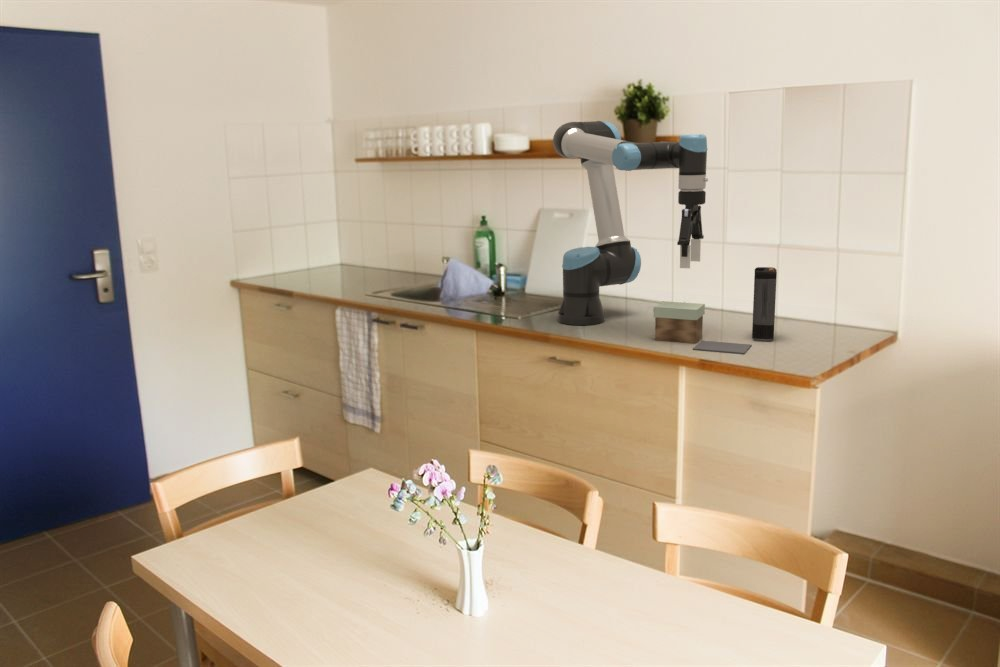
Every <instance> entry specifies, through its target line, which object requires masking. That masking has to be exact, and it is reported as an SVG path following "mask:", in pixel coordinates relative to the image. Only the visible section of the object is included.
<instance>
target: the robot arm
mask: <svg viewBox="0 0 1000 667" xmlns="http://www.w3.org/2000/svg"><path fill="white" fill-rule="evenodd" d="M552 145H553V149H554V151H555V152H556V154H558V155H559V156H561V157H562V158H565V159H571V160H575V159H576V160H577V159H580V163H581V164H580V165H581V167H582V168H584V169H585V170H586V173H587V177H588V178H587V179H588V184H589V185H588V186H589V191H590V196H591V202H592V203H591V204H592V208H593V209H592V210H593V215H594V221H595V227H596V232H597V239H598V241H597V243H596V244H595V246H585V247H583V246H581V247H576V248H572V249H569V250H567V251H566V252H565V253H564V254H563V256H562V265H561V267H562V293H563V294H562V300H561V304H560V306H559V310H558V313H557V321H558V322H559V323H561V324H564V325H569V326H570V325H571V326H590V325H591V326H592V325H597V324H602V323H604V322H605V320H606V317H605V314H606V313H605V309H604V307H603V304H602V301H601V298H600V287H605V286H614V285H624V284H627V283H632V282H633V281H635V279H636V278H637V277H638V275H639V273H640V272H641V267H642V257H641V254H640V252H639V251H638V249H637V248H635V247H633V246H632V244H631V240H630V239H629V238H627V237H626V236H625V232H624V224H623V219H622V213H621V208H620V201H619V195H618V190H617V182H616V177H615V170H614V167H615V168H616V169H617V170H618V171H626V172H632V171H639V170H640V171H641V170H660V169H661V170H662V169H678V171H679V172H678V187H677V188H678V190H679V192H678V197H677V198H678V199H677V200H678V201H677V202H678V204H679V205H682V206H683V205H684V206H685V207H684V208H682V209H681V220H680V228H679V236H678V241H677V243H676V244H677V246H679V269H691V262H701V250H702V249H701V246H702V245H701V243H702V241H701V240H703V239H704V237H705V236H704V234H703V225H702V213H701V212H702V206H701V205H705V204H706V194H707V193H706V191H705V189H706V186H707V184H706V183H707V182H708V181H709V179H708V178H707V161H708V160H707V157H708V141H707V136H706V135H705V134H704V133H703V134H701V133H699V134H682V135H680V137H679V141H658V142H653V141H652V142H632V141H627V140H622V138H621V134H620V131H619V130H618V128H617V127H616V126H615V124H613V123H612V122H610V121H601V120H597V121H569V122H565V123H564V124H561V125H560V126H559V127H558V128H557V129H556V130H555V132H554V134H553V136H552Z"/></svg>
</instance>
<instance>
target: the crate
mask: <svg viewBox="0 0 1000 667" xmlns="http://www.w3.org/2000/svg"><path fill="white" fill-rule="evenodd" d="M654 318H655V319H654V320H655V322H654V324H655V325H654V328H655V329H654V330H655V331H654V341H660V342H661V341H664V342H674V343H675V342H676V343H686V344H698V343H699V342H700V341H702V339H703V323H704V322H703V321H704V320H703V318H704V315H703V316H701V317H700V318H699V319H698V320H686V319H672V318H658V317H654Z"/></svg>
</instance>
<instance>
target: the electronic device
mask: <svg viewBox="0 0 1000 667" xmlns="http://www.w3.org/2000/svg"><path fill="white" fill-rule="evenodd" d="M777 270H778V269H776V268H775V267H770V266H769V267H768V266H766V267H764V266H762V267H761V266H760V267H759V266H758V267H755V268H754V279H753V280H754V281H753V282H754V284H753V302H752V303H753V307H752V308H753V309H752V330H751V331H752V332H751V339H752V340H753V341H755V342H772V341H773V340H774V339H775V318H776V316H775V315H776V298H777V273H778V272H777Z"/></svg>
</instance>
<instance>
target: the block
mask: <svg viewBox="0 0 1000 667" xmlns="http://www.w3.org/2000/svg"><path fill="white" fill-rule="evenodd" d="M705 307H706V304H705V303H695V302H694V303H693V302H680V301H678V302H677V301H661V302H659V303H657V305H654V306H653V318H655V317H658V318H672V319H686V320H698V319H699V318H700V317H701V316H703V317H704V315H705Z"/></svg>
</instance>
